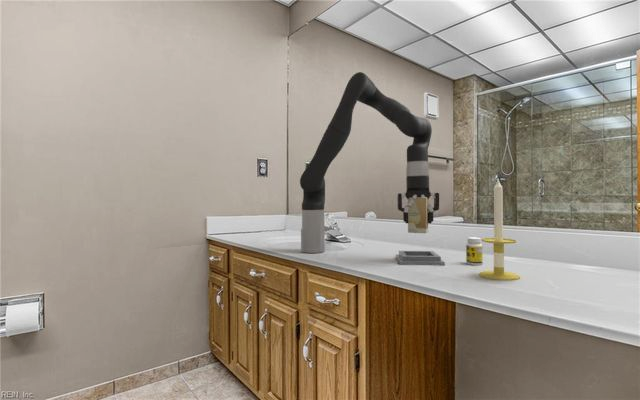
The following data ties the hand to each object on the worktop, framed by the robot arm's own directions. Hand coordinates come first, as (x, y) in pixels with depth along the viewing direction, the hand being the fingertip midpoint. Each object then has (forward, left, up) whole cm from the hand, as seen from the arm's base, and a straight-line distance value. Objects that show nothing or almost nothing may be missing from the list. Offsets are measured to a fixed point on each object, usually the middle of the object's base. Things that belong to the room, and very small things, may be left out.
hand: (418, 223), depth 115 cm
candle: (+18, -21, -13) cm, 31 cm away
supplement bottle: (+17, -4, -13) cm, 22 cm away
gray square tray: (0, 0, -13) cm, 13 cm away
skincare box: (0, 0, -3) cm, 3 cm away
